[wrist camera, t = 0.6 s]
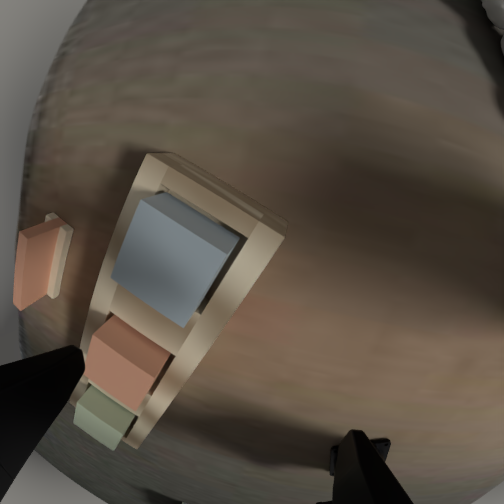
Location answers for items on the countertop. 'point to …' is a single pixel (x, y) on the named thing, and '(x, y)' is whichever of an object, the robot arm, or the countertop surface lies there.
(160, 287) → the slate button
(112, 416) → the sage button
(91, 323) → the button panel
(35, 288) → the terracotta sign
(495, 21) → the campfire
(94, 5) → the countertop surface
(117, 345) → the terracotta button
